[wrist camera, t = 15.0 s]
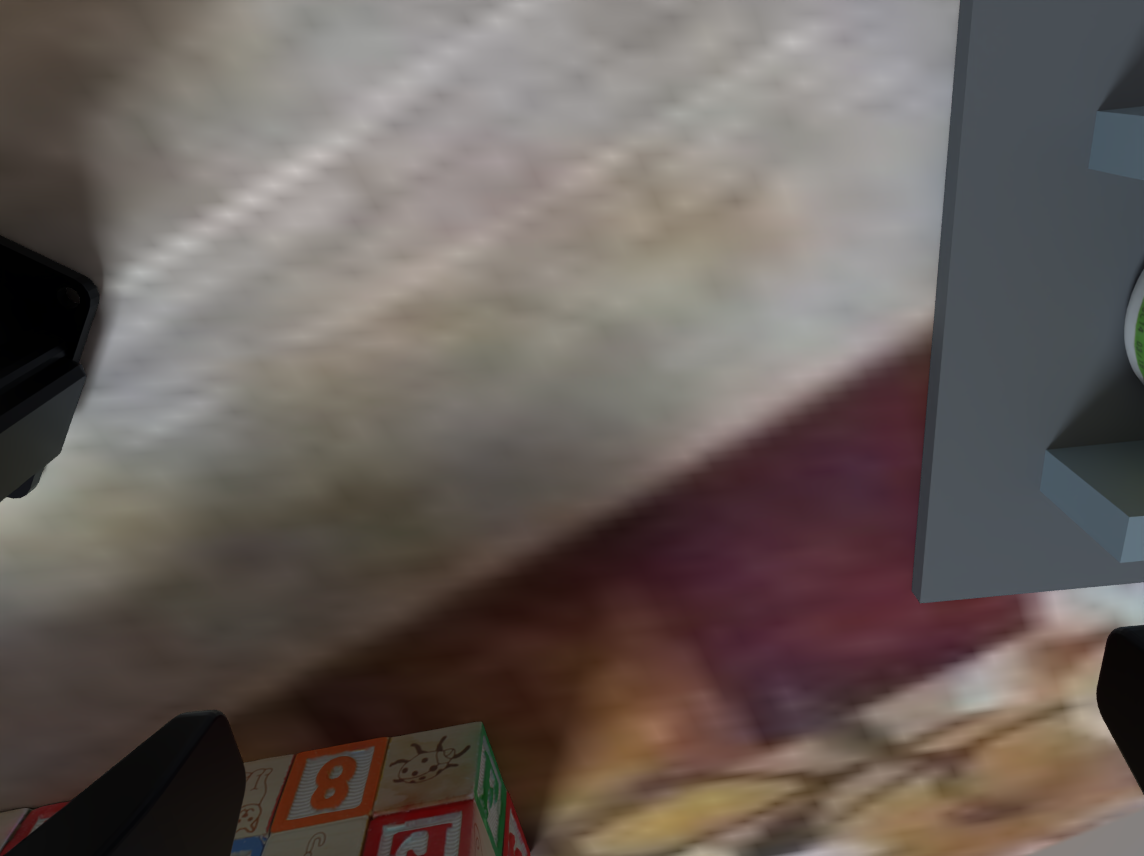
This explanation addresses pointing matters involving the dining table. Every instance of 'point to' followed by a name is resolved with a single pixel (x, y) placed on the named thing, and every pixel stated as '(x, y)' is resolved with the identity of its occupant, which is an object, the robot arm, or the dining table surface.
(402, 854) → the stack of blocks
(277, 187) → the dining table surface
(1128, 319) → the supplement bottle
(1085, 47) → the notch holder
